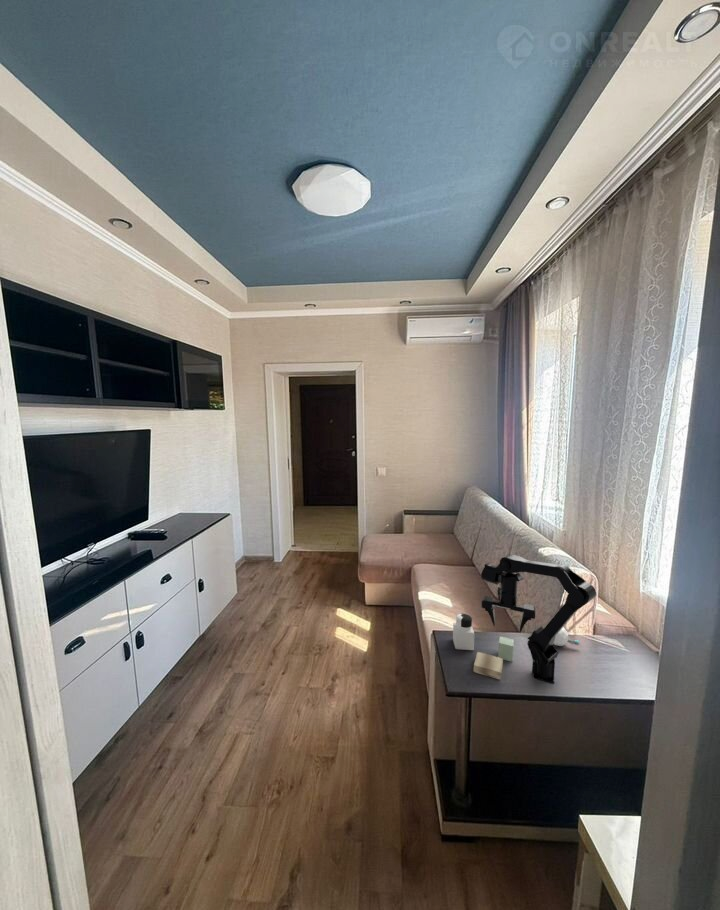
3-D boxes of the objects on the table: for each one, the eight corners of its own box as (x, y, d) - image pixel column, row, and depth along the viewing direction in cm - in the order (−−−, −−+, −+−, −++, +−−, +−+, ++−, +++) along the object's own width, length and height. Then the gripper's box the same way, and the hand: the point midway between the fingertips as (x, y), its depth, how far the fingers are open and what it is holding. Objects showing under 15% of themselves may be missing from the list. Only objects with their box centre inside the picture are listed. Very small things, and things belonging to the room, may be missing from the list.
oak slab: (502, 666, 135) (503, 658, 135) (500, 680, 127) (500, 672, 127) (477, 659, 139) (477, 651, 139) (473, 672, 131) (473, 664, 131)
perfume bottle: (545, 626, 157) (578, 637, 151) (543, 644, 151) (576, 656, 146) (548, 617, 152) (582, 628, 146) (546, 635, 146) (581, 648, 141)
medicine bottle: (470, 640, 151) (471, 612, 150) (473, 650, 144) (475, 621, 143) (452, 639, 151) (453, 611, 151) (455, 649, 144) (456, 619, 144)
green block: (513, 654, 142) (513, 639, 141) (512, 661, 137) (513, 646, 137) (499, 651, 144) (500, 636, 143) (498, 658, 139) (498, 642, 139)
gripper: (536, 585, 142) (534, 625, 143) (485, 576, 150) (484, 614, 151) (536, 596, 132) (534, 639, 133) (482, 586, 140) (480, 626, 141)
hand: (507, 628), depth 140 cm, fingers open, 9 cm apart
